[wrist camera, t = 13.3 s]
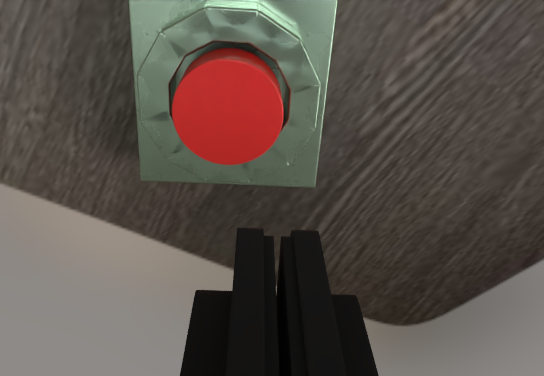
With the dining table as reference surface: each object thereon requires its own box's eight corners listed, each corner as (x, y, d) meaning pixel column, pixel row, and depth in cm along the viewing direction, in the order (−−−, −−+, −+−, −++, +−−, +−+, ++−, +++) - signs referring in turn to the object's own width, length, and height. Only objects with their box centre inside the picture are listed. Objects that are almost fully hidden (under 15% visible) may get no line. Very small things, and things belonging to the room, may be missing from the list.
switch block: (310, 167, 24) (320, 208, 21) (149, 160, 24) (131, 201, 21) (332, -27, 20) (349, -18, 17) (137, -41, 20) (112, -33, 16)
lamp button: (277, 149, 20) (279, 167, 19) (179, 144, 20) (173, 163, 18) (285, 50, 18) (288, 62, 17) (177, 44, 18) (169, 55, 16)
